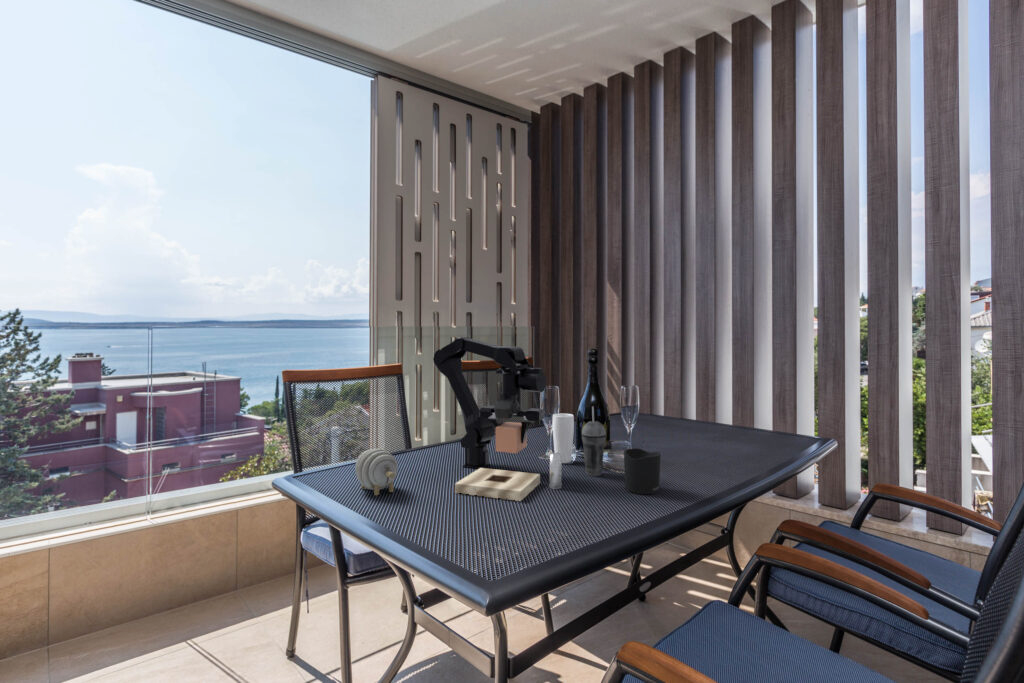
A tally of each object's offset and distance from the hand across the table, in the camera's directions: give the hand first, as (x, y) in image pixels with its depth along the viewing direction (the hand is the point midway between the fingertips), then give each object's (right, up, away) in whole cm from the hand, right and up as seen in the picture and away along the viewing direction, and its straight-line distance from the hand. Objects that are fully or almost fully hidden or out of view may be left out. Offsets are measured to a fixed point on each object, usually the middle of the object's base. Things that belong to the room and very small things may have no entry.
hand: (511, 442), depth 155 cm
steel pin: (+12, -10, -14) cm, 20 cm away
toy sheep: (-35, -10, -17) cm, 41 cm away
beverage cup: (+24, -9, -1) cm, 26 cm away
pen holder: (+35, -10, -16) cm, 39 cm away
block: (0, -2, 0) cm, 2 cm away
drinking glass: (+16, -9, +12) cm, 22 cm away
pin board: (-3, -10, -14) cm, 18 cm away
